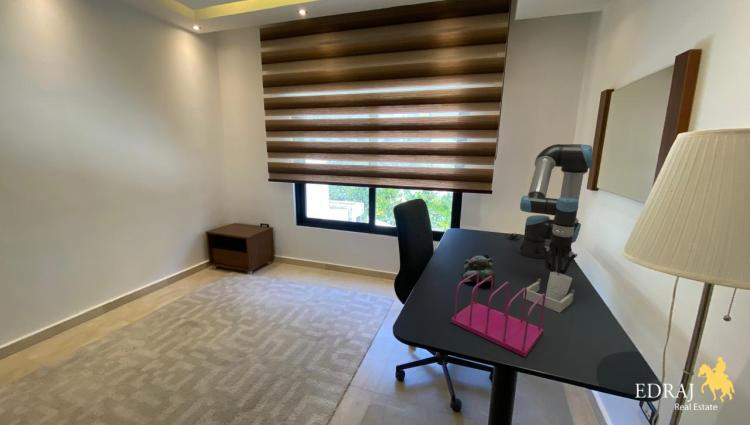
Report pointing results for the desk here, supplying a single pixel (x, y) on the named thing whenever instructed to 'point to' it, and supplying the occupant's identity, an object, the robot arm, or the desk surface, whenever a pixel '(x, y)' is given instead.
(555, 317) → the desk surface
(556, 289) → the white cup
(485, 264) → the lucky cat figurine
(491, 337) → the file sorter
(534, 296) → the open u-shaped frame
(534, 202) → the robot arm
